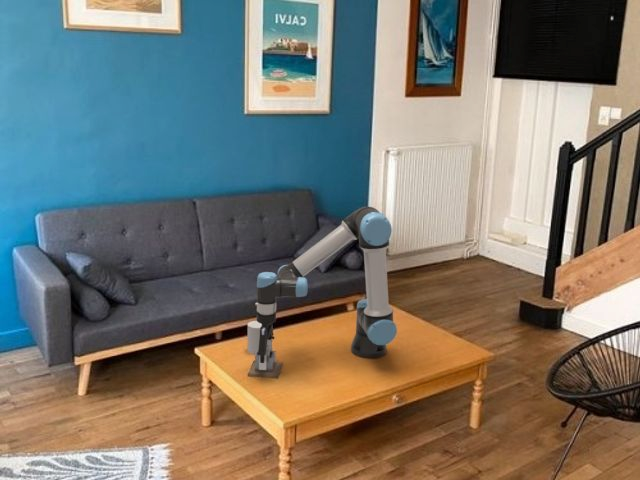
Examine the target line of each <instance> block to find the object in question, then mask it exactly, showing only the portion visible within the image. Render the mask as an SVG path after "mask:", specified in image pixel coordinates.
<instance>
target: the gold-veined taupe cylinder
mask: <svg viewBox="0 0 640 480" xmlns="http://www.w3.org/2000/svg"><path fill="white" fill-rule="evenodd" d="M260 327H262V324H261V323H258V322H257V320H252V321H251V320H250V321H249V322H248V323H247V345H246V347H247V349H246V350H247V353H249V354H250V355H252V356H253V355H254V356H256V354H257V352H258V350H259V339H260Z"/></svg>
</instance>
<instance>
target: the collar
mask: <svg viewBox="0 0 640 480" xmlns="http://www.w3.org/2000/svg"><path fill="white" fill-rule="evenodd" d="M257 353H258V352H257ZM276 355H277V352H276V350H272V351H270V357H266V370H259V355H257V354H256V355H254V360H255V371H261V372H273V370H274V367H275V365H276V362H277V361H276V359H277V357H276Z"/></svg>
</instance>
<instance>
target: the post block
mask: <svg viewBox="0 0 640 480" xmlns="http://www.w3.org/2000/svg"><path fill="white" fill-rule="evenodd" d="M266 357H270V346H268V345H267V347H266ZM283 366H284V362H283V361H282V362H281V361H280V362H279V361H276V365H275V367H274V370H273V372H261V371H255V359H253V361H252V364H250V368H249V370H248V371H247V377H251V378H252V377H254V378H265V379H267V378H268V379H279V377H280V376H281V375H280V374H281V371H282V369H283Z"/></svg>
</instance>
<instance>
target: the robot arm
mask: <svg viewBox="0 0 640 480" xmlns="http://www.w3.org/2000/svg"><path fill="white" fill-rule="evenodd" d="M392 232H393V231H392V224H391V222H390V220H389V219H388V217H387V216H386V215H384V214H383V213H381V212H380V211H379V210H378V209H376V208H375V207H372V206H362V207H360V208H358V209H357V210H354V211H353V212H352V213H351V214H349V215H348V216H346V217H345V218H344V219H343V220H342V221H341V224H340V225H339V226H337V228H335V229H334V230H332V231H331V232H330V233H328V234H327V235H326V236H325V237H323V238H322V239H321V240H319V241H318V242H317V243H315V244H314V245H313V246H311V247H310V248H308V250H306V251H305V252H304V253H302V254H301V255H299V256H298V257H297V258H296V259H294V260H293V261H292V262H291V263H289V264H284V265H281V266H280V267H279V268H278V270H277V274H276V273H275V272H271V271H270V272H269V271H263V272H260V273H258V275H257V279H256V302H255V306H256V321H257V322H258V323H261V324H262V327H260V339H259V350H258V353H257V355H259V370H266V347H267V345H268V346H270V351H273V340H275V336H274V328H273V327H274V326H273V324H274V323H275V322H276V321H277V298H300V297H301V298H302V297H306V296H307V295H308V279H307V278H306V277H305V276H306V275H307V274H309V273H310V272H312V271H313V270H314V269H315V268H317V267H318V266H320V265H321V264H322V263H324V262H325V261H326V260H327V259H329V258H330V257H331V256H332V255H334V254H336V253H337V252H338V251H339V250H341V249H342V248H343V247H345V246H346V245H348V244H349V243H350V242H351V241H352V240H358V242H359V245H358V247H359V248H360V249H361V250H362V251H363V262H364V274H365V277H364V278H365V293H366V298H362V299H359V301H358V302H357V304H356V322H355V323H356V324H355V335H354V337H353V338H352V342H351V345H350V351H351V353H352V354H354V356H358V357H360V358H364V359H376V358H382V357H383V356H385V355H386V354H387V345H388V344H390V343H392V341H393V340H394V339H396V336H397V334H398V333H397V332H398V330H397V329H398V328H397V324H396V323H395V322H394V309H393V308H392V306H390V305H389V304H390V303H389V290H388V289H389V287H388V286H389V285H388V284H389V283H388V268H387V266H388V265H387V251H386V250H387V248H388V247H389V246H390V238H391V235H392Z"/></svg>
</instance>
